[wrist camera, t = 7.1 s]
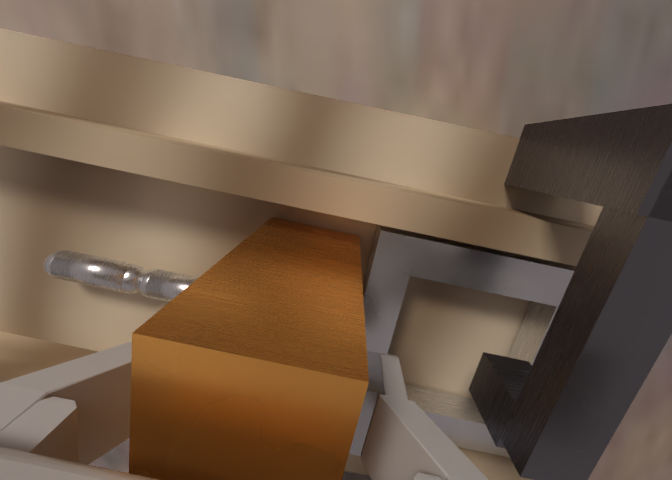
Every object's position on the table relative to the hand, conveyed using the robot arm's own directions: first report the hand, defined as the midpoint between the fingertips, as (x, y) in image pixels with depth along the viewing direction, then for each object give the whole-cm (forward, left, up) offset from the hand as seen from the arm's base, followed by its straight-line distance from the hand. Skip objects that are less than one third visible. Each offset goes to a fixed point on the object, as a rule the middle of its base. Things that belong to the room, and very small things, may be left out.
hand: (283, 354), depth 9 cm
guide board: (+2, 0, -4) cm, 5 cm away
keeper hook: (-7, -3, -3) cm, 8 cm away
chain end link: (0, 0, -3) cm, 3 cm away
